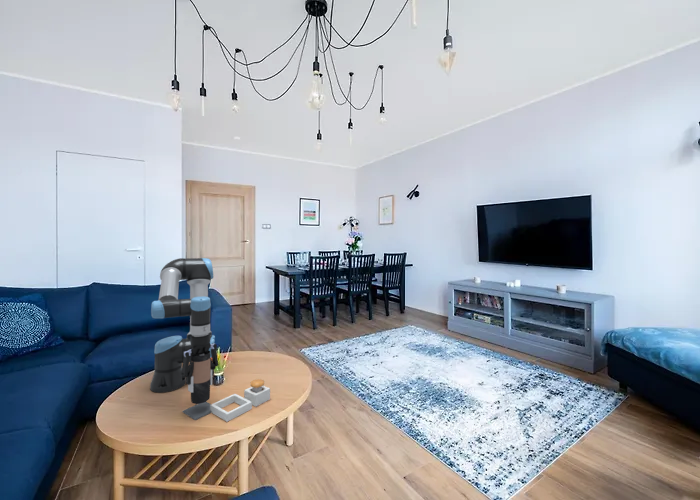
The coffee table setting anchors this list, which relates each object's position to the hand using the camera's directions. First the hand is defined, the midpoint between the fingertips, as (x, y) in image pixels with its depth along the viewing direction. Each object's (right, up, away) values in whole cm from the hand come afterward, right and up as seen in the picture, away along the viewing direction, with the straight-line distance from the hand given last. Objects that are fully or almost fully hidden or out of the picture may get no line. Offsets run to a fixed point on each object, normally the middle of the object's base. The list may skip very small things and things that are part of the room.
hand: (200, 387), depth 131 cm
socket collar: (+12, -10, +1) cm, 16 cm away
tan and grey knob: (+21, -9, +10) cm, 25 cm away
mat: (0, -10, 0) cm, 10 cm away
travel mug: (0, -5, 0) cm, 5 cm away
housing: (+21, -10, +10) cm, 25 cm away
